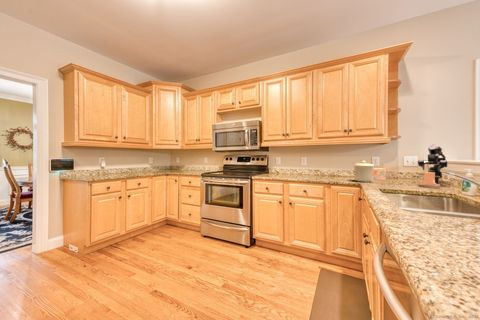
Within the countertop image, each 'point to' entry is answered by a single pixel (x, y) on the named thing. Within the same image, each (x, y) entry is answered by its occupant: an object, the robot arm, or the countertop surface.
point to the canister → (363, 172)
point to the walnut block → (429, 186)
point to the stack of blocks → (379, 174)
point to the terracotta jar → (429, 178)
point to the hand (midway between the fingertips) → (430, 170)
